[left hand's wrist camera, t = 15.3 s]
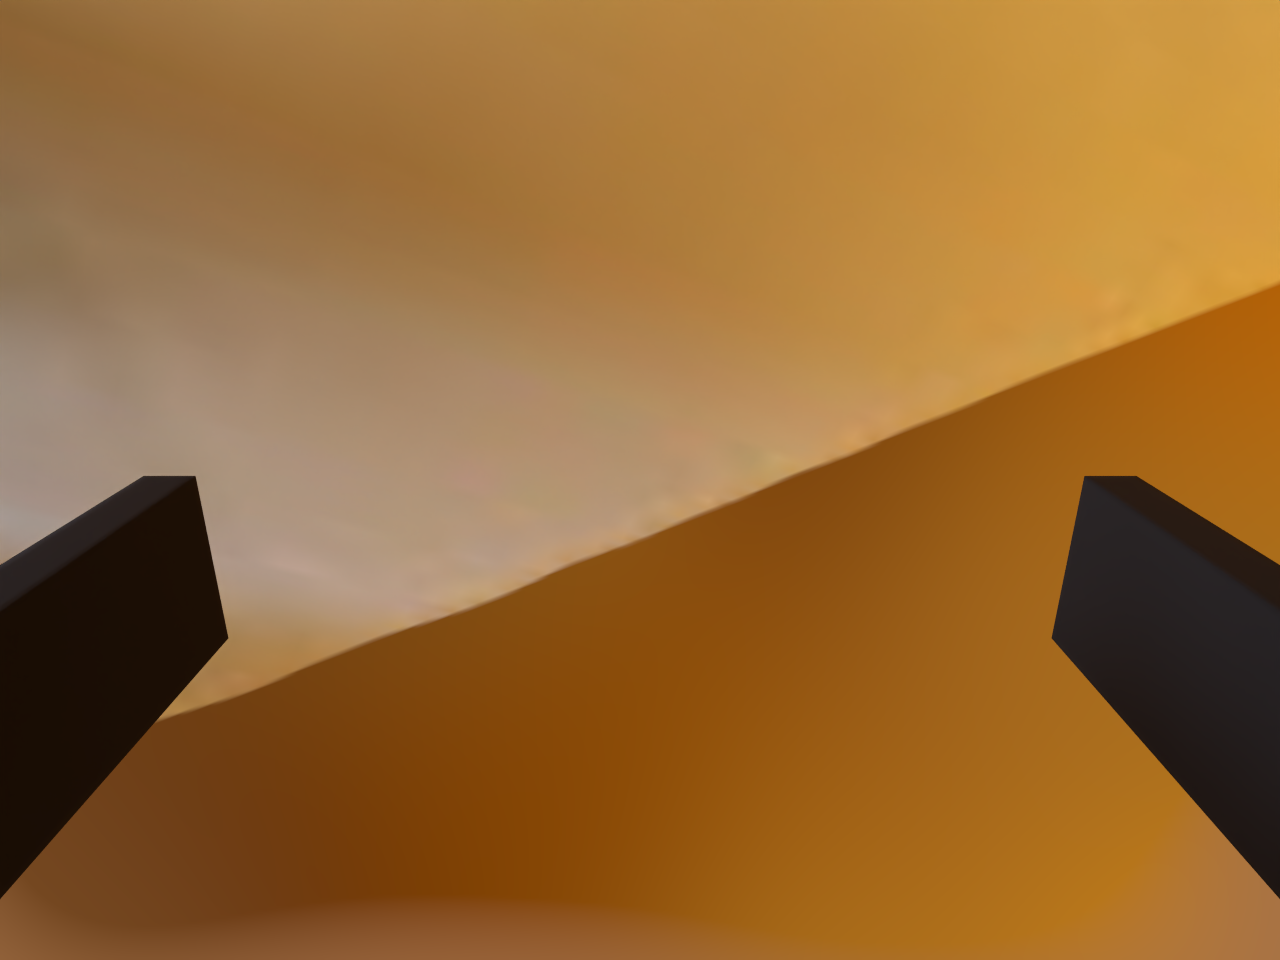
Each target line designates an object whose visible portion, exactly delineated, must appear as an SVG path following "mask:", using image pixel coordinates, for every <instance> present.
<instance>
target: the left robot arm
mask: <svg viewBox="0 0 1280 960" xmlns="http://www.w3.org/2000/svg"><path fill="white" fill-rule="evenodd" d="M227 639H228V634H227V629H226V624H225V619H224V614H223V609H222V604H221V600H220V595H219V590H218V585H217V580H216V575H215V570H214V565H213V560H212V555H211V550H210V545H209V540H208V535H207V531H206V526H205V521H204V516H203V511H202V506H201V501H200V496H199V491H198V486H197V481H196V476H143V477H141V478H140V479H138V480H136V481H135V482H133V483H132V484H130V485H128V486H127V487H125V488H124V489H122V490H120V491H119V492H117V493H116V494H114V495H112V496H111V497H109V498H108V499H106V500H104V501H103V502H101V503H99V504H98V505H96V506H95V507H93V508H91V509H90V510H88V511H87V512H85V513H83V514H82V515H80V516H79V517H77V518H75V519H74V520H72V521H70V522H69V523H67V524H66V525H64V526H62V527H61V528H59V529H58V530H56V531H54V532H53V533H51V534H50V535H48V536H46V537H45V538H43V539H42V540H40V541H38V542H37V543H35V544H33V545H32V546H30V547H29V548H27V549H25V550H24V551H22V552H21V553H19V554H17V555H16V556H14V557H13V558H11V559H9V560H8V561H6V562H4V563H3V564H1V565H0V899H1V897H2V896H3V895H4V894H5V893H6V892H7V891H8V889H9V888H10V887H11V886H12V885H13V884H14V883H15V881H16V880H17V879H18V878H19V877H20V876H21V875H22V873H23V872H24V871H25V870H26V869H27V868H28V867H29V865H30V864H31V863H32V862H33V861H34V860H35V859H36V857H37V856H38V855H39V854H40V853H41V852H42V851H43V849H44V848H45V847H46V846H47V845H48V844H49V843H50V841H51V840H52V839H53V838H54V837H55V836H56V834H57V833H58V832H59V831H60V830H61V829H62V828H63V827H64V825H65V824H66V823H67V822H68V821H69V820H70V819H71V817H72V816H73V815H74V814H75V813H76V812H77V811H78V809H79V808H80V807H81V806H82V805H83V804H84V802H85V801H86V800H87V799H88V798H89V797H90V796H91V795H92V793H93V792H94V791H95V790H96V789H97V788H98V787H99V785H100V784H101V783H102V782H103V781H104V780H105V778H106V777H107V776H108V775H109V774H110V773H111V772H112V771H113V769H114V768H115V767H116V766H117V765H118V764H119V763H120V761H121V760H122V759H123V758H124V757H125V756H126V755H127V753H128V752H129V751H130V750H131V749H132V748H133V747H134V745H135V744H136V743H137V742H138V741H139V740H140V738H141V737H142V736H143V735H144V734H145V733H146V732H147V730H148V729H149V728H150V727H151V726H152V725H153V724H154V723H155V721H156V720H157V719H158V718H159V717H160V716H161V715H162V713H163V712H164V711H165V710H166V709H167V708H168V707H169V705H170V704H171V703H172V702H173V701H174V700H175V699H176V697H177V696H178V695H179V694H180V693H181V692H182V691H183V689H184V688H185V687H186V686H187V685H188V684H189V683H190V681H191V680H192V679H193V678H194V677H195V676H196V675H197V673H198V672H199V671H200V670H201V669H202V668H203V667H204V665H205V664H206V663H207V662H208V661H209V660H210V659H211V657H212V656H213V655H214V654H215V653H216V652H217V651H218V649H219V648H220V647H221V646H222V645H223V644H224V643H225V641H226V640H227ZM1052 639H1053V640H1054V641H1055V643H1056V644H1057V645H1058V646H1059V647H1060V648H1061V649H1062V651H1063V652H1064V653H1065V654H1066V655H1067V656H1068V657H1069V659H1070V660H1071V661H1072V662H1073V663H1074V664H1075V665H1076V667H1077V668H1078V669H1079V670H1080V671H1081V672H1082V673H1083V674H1084V676H1085V677H1086V678H1087V679H1088V680H1089V681H1090V683H1091V684H1092V685H1093V686H1094V687H1095V688H1096V689H1097V691H1098V692H1099V693H1100V694H1101V695H1102V696H1103V697H1104V699H1105V700H1106V701H1107V702H1108V703H1109V704H1110V705H1111V707H1112V708H1113V709H1114V710H1115V711H1116V712H1117V713H1118V715H1119V716H1120V717H1121V718H1122V719H1123V720H1124V721H1125V723H1126V724H1127V725H1128V726H1129V727H1130V728H1131V729H1132V731H1133V732H1134V733H1135V734H1136V735H1137V736H1138V737H1139V739H1140V740H1141V741H1142V742H1143V743H1144V744H1145V745H1146V747H1147V748H1148V749H1149V750H1150V751H1151V752H1152V753H1153V754H1154V756H1155V757H1156V758H1157V759H1158V760H1159V761H1160V763H1161V764H1162V765H1163V766H1164V767H1165V768H1166V769H1167V771H1168V772H1169V773H1170V774H1171V775H1172V776H1173V777H1174V779H1175V780H1176V781H1177V782H1178V783H1179V784H1180V785H1181V787H1182V788H1183V789H1184V790H1185V791H1186V792H1187V793H1188V795H1189V796H1190V797H1191V798H1192V799H1193V800H1194V801H1195V803H1196V804H1197V805H1198V806H1199V807H1200V808H1201V809H1202V811H1203V812H1204V813H1205V814H1206V815H1207V816H1208V817H1209V818H1210V820H1211V821H1212V822H1213V823H1214V824H1215V825H1216V827H1217V828H1218V829H1219V830H1220V831H1221V832H1222V833H1223V834H1224V836H1225V837H1226V838H1227V839H1228V840H1229V841H1230V843H1231V844H1232V845H1233V846H1234V847H1235V848H1236V849H1237V851H1238V852H1239V853H1240V854H1241V855H1242V856H1243V857H1244V859H1245V860H1246V861H1247V862H1248V863H1249V864H1250V865H1251V867H1252V868H1253V869H1254V870H1255V871H1256V872H1257V873H1258V875H1259V876H1260V877H1261V878H1262V879H1263V880H1264V881H1265V883H1266V884H1267V885H1268V886H1269V887H1270V888H1271V889H1272V890H1273V892H1274V893H1275V894H1276V895H1277V896H1278V897H1279V899H1280V565H1279V564H1277V563H1276V562H1274V561H1272V560H1271V559H1269V558H1267V557H1266V556H1264V555H1263V554H1261V553H1259V552H1258V551H1256V550H1255V549H1253V548H1251V547H1250V546H1248V545H1247V544H1245V543H1243V542H1242V541H1240V540H1238V539H1237V538H1235V537H1234V536H1232V535H1230V534H1229V533H1227V532H1226V531H1224V530H1222V529H1221V528H1219V527H1218V526H1216V525H1214V524H1213V523H1211V522H1210V521H1208V520H1206V519H1205V518H1203V517H1201V516H1200V515H1198V514H1197V513H1195V512H1193V511H1192V510H1190V509H1189V508H1187V507H1185V506H1184V505H1182V504H1181V503H1179V502H1177V501H1176V500H1174V499H1172V498H1171V497H1169V496H1168V495H1166V494H1164V493H1163V492H1161V491H1160V490H1158V489H1156V488H1155V487H1153V486H1152V485H1150V484H1148V483H1147V482H1145V481H1144V480H1142V479H1140V478H1139V477H1137V476H1085V477H1084V481H1083V486H1082V491H1081V496H1080V501H1079V506H1078V511H1077V516H1076V521H1075V526H1074V531H1073V535H1072V540H1071V545H1070V550H1069V555H1068V560H1067V565H1066V570H1065V575H1064V580H1063V585H1062V590H1061V595H1060V600H1059V605H1058V609H1057V614H1056V619H1055V624H1054V629H1053V634H1052Z"/></svg>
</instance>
